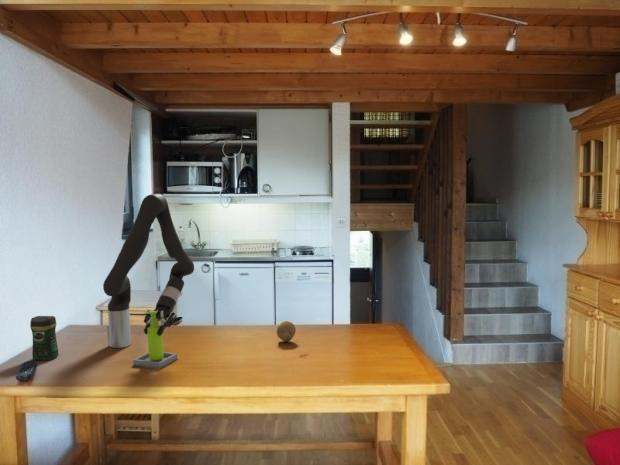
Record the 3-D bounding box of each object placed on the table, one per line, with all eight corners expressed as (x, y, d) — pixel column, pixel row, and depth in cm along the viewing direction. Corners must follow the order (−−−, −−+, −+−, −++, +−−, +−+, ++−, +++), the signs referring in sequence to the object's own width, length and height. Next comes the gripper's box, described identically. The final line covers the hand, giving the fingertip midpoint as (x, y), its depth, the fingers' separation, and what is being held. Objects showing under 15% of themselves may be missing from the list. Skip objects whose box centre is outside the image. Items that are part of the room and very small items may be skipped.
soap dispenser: (148, 355, 205) (145, 310, 203) (165, 355, 205) (162, 309, 203) (145, 360, 199) (141, 313, 197) (162, 360, 199) (159, 312, 197)
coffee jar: (61, 355, 212) (59, 313, 210) (50, 361, 204) (47, 318, 202) (41, 354, 213) (38, 313, 211) (29, 361, 205) (26, 318, 203)
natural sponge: (293, 345, 221) (292, 324, 220) (274, 344, 222) (274, 323, 221) (297, 339, 229) (297, 319, 228) (279, 338, 231) (279, 318, 230)
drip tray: (133, 365, 199) (133, 359, 198) (152, 355, 210) (152, 350, 210) (159, 369, 194) (159, 363, 194) (177, 359, 205) (177, 353, 205)
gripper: (150, 293, 209) (133, 328, 199) (178, 295, 204) (162, 331, 194) (158, 302, 214) (142, 336, 204) (186, 305, 209) (170, 340, 200)
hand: (152, 334), depth 199 cm, fingers closed on soap dispenser, 6 cm apart
